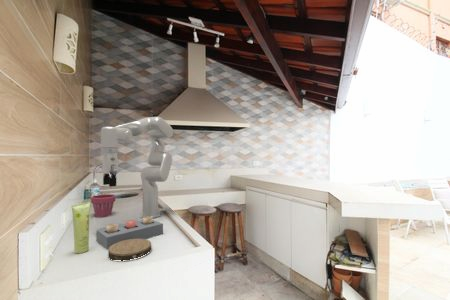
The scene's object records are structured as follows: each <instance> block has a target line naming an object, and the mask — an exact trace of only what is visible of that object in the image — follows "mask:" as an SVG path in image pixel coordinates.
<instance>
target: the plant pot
mask: <svg viewBox="0 0 450 300" xmlns="http://www.w3.org/2000/svg"><path fill="white" fill-rule="evenodd" d="M115 202H116V195H115V194H113V193H112V194H111V193H110V194H109V193H108V194H106V193H105V194H104V193H103V194H97V195H92V196H91V198H90V204H92V206H93V207H92V208H93V212H94V215H95V217H96V218H107V217H109V216H110V217H111V215H112V212H113V207H114V203H115Z"/></svg>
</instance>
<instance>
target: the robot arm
mask: <svg viewBox="0 0 450 300" xmlns="http://www.w3.org/2000/svg"><path fill="white" fill-rule="evenodd" d="M146 133H148V136H149V138H150V142H151V147H150V151H149V154H148V158H147V164H148V165H149V166H146V167H143V168H142V169H141V170H140V180H141V185H142V186H141V187H142V213H141V214H140V215H139V217H140V218H141V219H143V218H144V217H152V219H155V218H159V217H161V212H166V208H165V207H162V208H161V207H159V188H158V187H159V186H158V184H157V182H158V183H162V182H166V181H167V180H168V178H169V174H170V171H171V167H172V164H173V156H172V154H171V152H169V151H165V148H166V147H165V144H164V142H163V141H162V139H171V138H172V137H173V135H174V129H173V128H172V126H171V124H169V123H168V122H167V121H166V120H165V119H164V118H162V117H160V116H150V117H149V116H147V117H144V118H141V119H138V120H135V121H131V122H128V123H124V124H121V125H117V126H103V127H101V129H100V154H101V155H102V173H103V175H102V182H103V183H102V185H103V186H106V185H108V187H110V188H111V187H117V174H118V173H119V164H118V162H119V161H118V153H119V152H118V151H119V149H118V148H119V146H118V145H119V143H127V142H130V141H131V140H132V138H133V137H138V136H141V135H144V134H146Z"/></svg>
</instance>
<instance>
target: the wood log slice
mask: <svg viewBox="0 0 450 300" xmlns="http://www.w3.org/2000/svg"><path fill="white" fill-rule="evenodd" d="M107 251H108V252H107V253H108V254H107V255H108V259H109V258H110V259H109V260H111V259H112V260H111V261H113V260H121V261H123V260H130V259H134V258H138V257H141V256H143V255H145V254H147V253H148V252H150V251H151V252H152V242H151V241H150V240H148V239H129V240H124V241H120V242H117V243H115V244H113V245H112V246H110V247H109V249H107ZM151 252H150V253H151Z"/></svg>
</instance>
